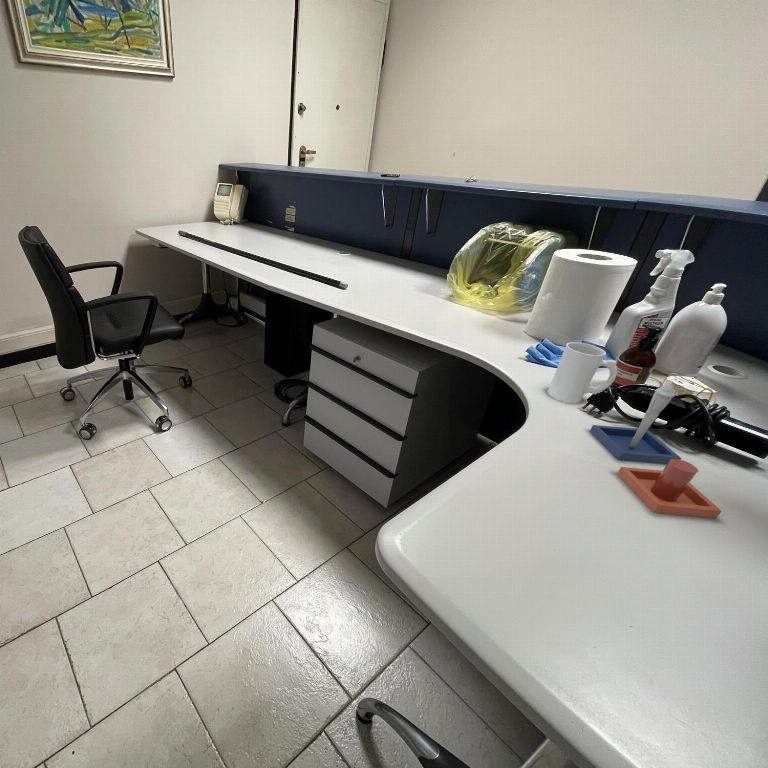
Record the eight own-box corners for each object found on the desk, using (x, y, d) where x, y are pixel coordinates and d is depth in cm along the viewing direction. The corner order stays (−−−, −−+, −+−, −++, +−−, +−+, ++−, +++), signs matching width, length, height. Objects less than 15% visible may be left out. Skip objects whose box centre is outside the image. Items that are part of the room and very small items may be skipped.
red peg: (666, 488, 66) (687, 459, 63) (682, 502, 63) (704, 473, 60) (645, 486, 66) (664, 457, 63) (659, 500, 63) (680, 471, 60)
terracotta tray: (670, 481, 68) (677, 471, 67) (714, 521, 61) (722, 511, 60) (615, 476, 69) (621, 466, 68) (651, 514, 62) (658, 505, 61)
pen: (641, 447, 75) (682, 381, 68) (639, 454, 73) (681, 387, 66) (624, 441, 76) (663, 376, 69) (621, 447, 75) (660, 381, 68)
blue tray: (641, 437, 79) (646, 429, 78) (675, 467, 71) (681, 458, 70) (588, 433, 80) (592, 424, 78) (616, 462, 72) (621, 453, 71)
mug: (543, 397, 91) (564, 348, 85) (548, 386, 96) (568, 339, 90) (598, 414, 85) (625, 363, 79) (601, 401, 90) (626, 352, 84)
